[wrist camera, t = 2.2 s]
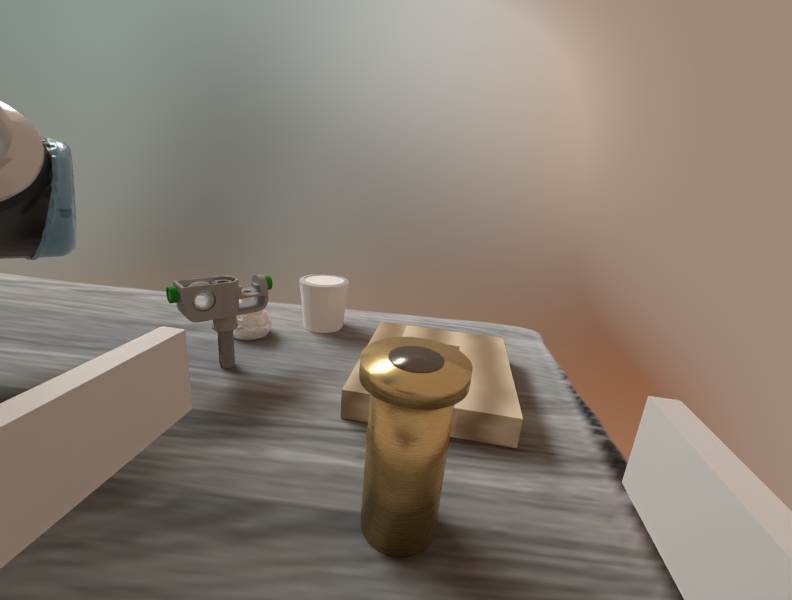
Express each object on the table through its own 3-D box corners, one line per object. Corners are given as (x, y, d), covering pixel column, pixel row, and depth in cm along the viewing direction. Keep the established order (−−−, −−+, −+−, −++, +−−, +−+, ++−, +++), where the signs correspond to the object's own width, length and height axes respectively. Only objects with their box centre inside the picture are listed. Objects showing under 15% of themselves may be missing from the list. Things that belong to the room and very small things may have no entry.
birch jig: (340, 417, 36) (342, 389, 36) (379, 342, 53) (381, 321, 53) (516, 448, 34) (523, 419, 34) (498, 359, 51) (502, 338, 50)
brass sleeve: (337, 555, 24) (346, 375, 20) (362, 478, 30) (373, 329, 26) (444, 578, 23) (474, 396, 19) (447, 494, 29) (471, 343, 25)
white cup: (318, 314, 62) (319, 270, 60) (355, 323, 59) (358, 279, 57) (289, 327, 56) (288, 279, 54) (329, 339, 53) (330, 289, 51)
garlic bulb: (219, 288, 51) (259, 283, 55) (221, 331, 53) (260, 323, 56) (237, 300, 47) (279, 293, 51) (239, 345, 49) (279, 336, 53)
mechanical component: (276, 358, 46) (275, 277, 43) (181, 384, 40) (172, 289, 37) (264, 349, 48) (263, 270, 45) (172, 372, 42) (163, 281, 39)
